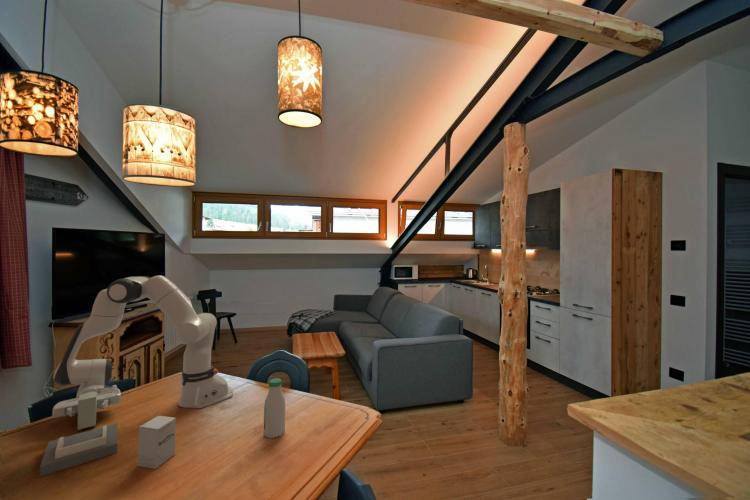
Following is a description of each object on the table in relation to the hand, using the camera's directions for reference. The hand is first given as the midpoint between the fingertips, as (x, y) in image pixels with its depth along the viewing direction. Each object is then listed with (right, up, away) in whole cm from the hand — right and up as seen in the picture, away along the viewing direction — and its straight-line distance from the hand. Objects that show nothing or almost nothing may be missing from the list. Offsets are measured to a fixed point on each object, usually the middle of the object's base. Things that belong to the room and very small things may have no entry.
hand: (87, 410), depth 119 cm
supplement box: (+40, -7, -18) cm, 44 cm away
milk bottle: (+73, -8, -2) cm, 73 cm away
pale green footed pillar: (-1, -6, +1) cm, 7 cm away
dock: (+12, -6, -14) cm, 19 cm away
